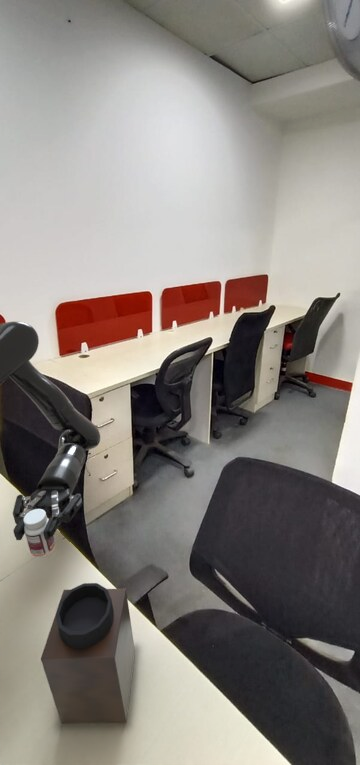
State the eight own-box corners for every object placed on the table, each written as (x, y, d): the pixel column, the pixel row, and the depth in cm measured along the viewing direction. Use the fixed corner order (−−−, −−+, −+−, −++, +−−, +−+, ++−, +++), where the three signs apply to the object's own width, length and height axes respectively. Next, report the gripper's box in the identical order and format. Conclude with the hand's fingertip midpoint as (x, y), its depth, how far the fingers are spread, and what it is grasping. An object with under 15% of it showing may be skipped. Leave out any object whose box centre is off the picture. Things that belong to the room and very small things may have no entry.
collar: (51, 649, 49) (47, 636, 48) (68, 595, 56) (65, 582, 55) (108, 648, 48) (105, 635, 47) (117, 594, 56) (115, 581, 55)
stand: (60, 723, 54) (40, 658, 48) (78, 651, 63) (63, 589, 57) (126, 722, 54) (114, 657, 47) (135, 650, 63) (125, 588, 57)
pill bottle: (48, 535, 74) (41, 503, 71) (59, 548, 71) (52, 515, 68) (26, 548, 71) (17, 516, 68) (36, 562, 68) (27, 529, 65)
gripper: (26, 465, 81) (-12, 522, 65) (89, 463, 80) (66, 520, 65) (33, 491, 83) (-2, 552, 68) (94, 490, 83) (73, 550, 68)
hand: (31, 536), depth 66 cm, fingers closed on pill bottle, 4 cm apart
